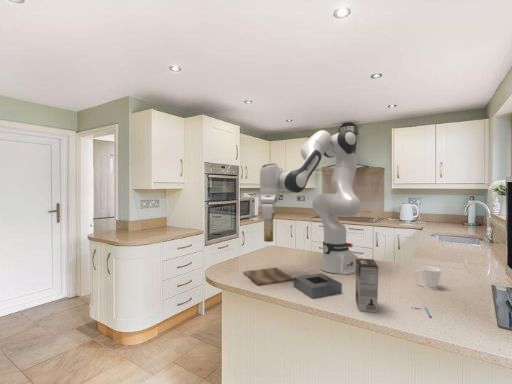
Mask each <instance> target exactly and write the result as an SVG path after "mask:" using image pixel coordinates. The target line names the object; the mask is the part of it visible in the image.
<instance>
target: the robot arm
mask: <svg viewBox="0 0 512 384" xmlns="http://www.w3.org/2000/svg"><path fill="white" fill-rule="evenodd" d="M357 143H358V138H357V135H356V134H355V132H354V131H353V130H351V129H345V130H340V132H337V133H335V134H333V135H331V133H330V132H328V131H327V130H324V129H323V130H322V129H320V130H318V131H316V132H315V133H314V134H311V135H310V137H309V138H308V139H307V140H306V141H305V142H304V143H303V144H302V146H301V148H300V155H301V157H302V159H303V160H304V161H303V162H302V164H301V165H300V167H299V168H297V169H293V170H287V171H286V170H285V169H283V168H281V167H280V166H279V165H278V164H277V163H268V164H263V165H262V166H261V167H260V172H259V185H260V188H259V203H261V214H262V220H263V221H264V220H266V229H270V220H271V219H272V215H273V213H274V214H275V206H276V205H277V203H279V191H280V192H289V193H290V192H291V193H295V194H296V193H301V192H302V191H304V189H305V188H306V186H307V184H308V182H309V179H310V177H311V176H312V174H313V173H314V171H315V170H316V168H317V167H318V165H319V164H320V162H321V160H322V156H324V157H326V158H329V159H331V158H336V161H335V164H334V168H333V171H332V176H331V179H330V183H331V186H333V187H334V188H335V189H336V193H321V194H316V195H315V196H314V197H313V199H312V204H311V206H312V208H313V210H314V212H316V214H317V215H318V216H319V218H320V219H321V222H322V226H323V242H322V250H323V251H322V252H323V253H322V259H321V265H320V268H319V269H320V270H322V271H323V272H327V273H331V274H340V275H344V276H345V275H350V274H354V273H355V274H356V259H359V257H358V256H357V255H356V254H355V253H354V252H352V251H351V250H350V249H349V248H353V246H354V245H353V243H350V242H347V228H346V226H345V224H343V223H342V222H341V221H340V220H339V218H338V216H339V217H351V216H356V215H357V214H358V213H359V212H360V211H361V206H362V205H361V201H360V198H359V197H358V196H356V194H355V192H354V187H353V184H354V179H355V175H356V172H357V167H358V157H357V154H356V153H355V151H356V149H357Z"/></svg>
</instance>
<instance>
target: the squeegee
mask: <svg viewBox="0 0 512 384" xmlns="http://www.w3.org/2000/svg"><path fill="white" fill-rule="evenodd" d="M412 308H413V307H411V309H412ZM414 308H415V309H414V310H417V309H421V308H418V307H414ZM424 309H426V311H425V312H426V314H427V315H428V318H429V319H433V316H432V315H431V313H430V311H429V310H428V308H427V306H426V307H425V308H424Z"/></svg>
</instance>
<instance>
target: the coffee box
mask: <svg viewBox="0 0 512 384" xmlns="http://www.w3.org/2000/svg"><path fill="white" fill-rule="evenodd" d="M378 295H379V265H378V264H377V263H376V261H375V259H373V258H372V259H371V258H369V259H366V258H358V259H356V272H355V299H354V300H355V303H356V306H357V309H358V311H360V312H369V313H370V312H371V313H378V298H379V297H378Z"/></svg>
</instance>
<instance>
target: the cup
mask: <svg viewBox="0 0 512 384" xmlns="http://www.w3.org/2000/svg"><path fill="white" fill-rule="evenodd" d="M418 271H419V272H421V273H422V279H423V282H424V284H422V283H420V282H419V281H418V280H417V279H416V273H417V272H418ZM441 272H442V269H440V268H438V267H434V266H423V267H421V269H416V270H415V271H414V273H413V279H414V280H415V282H416V283H417V284H419V285H420V286H422V287H423V286H424V288H426V287H427V288H426V289H429V288H430V289H429V290H437V289H438V285H439V282H440V277H441Z"/></svg>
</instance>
